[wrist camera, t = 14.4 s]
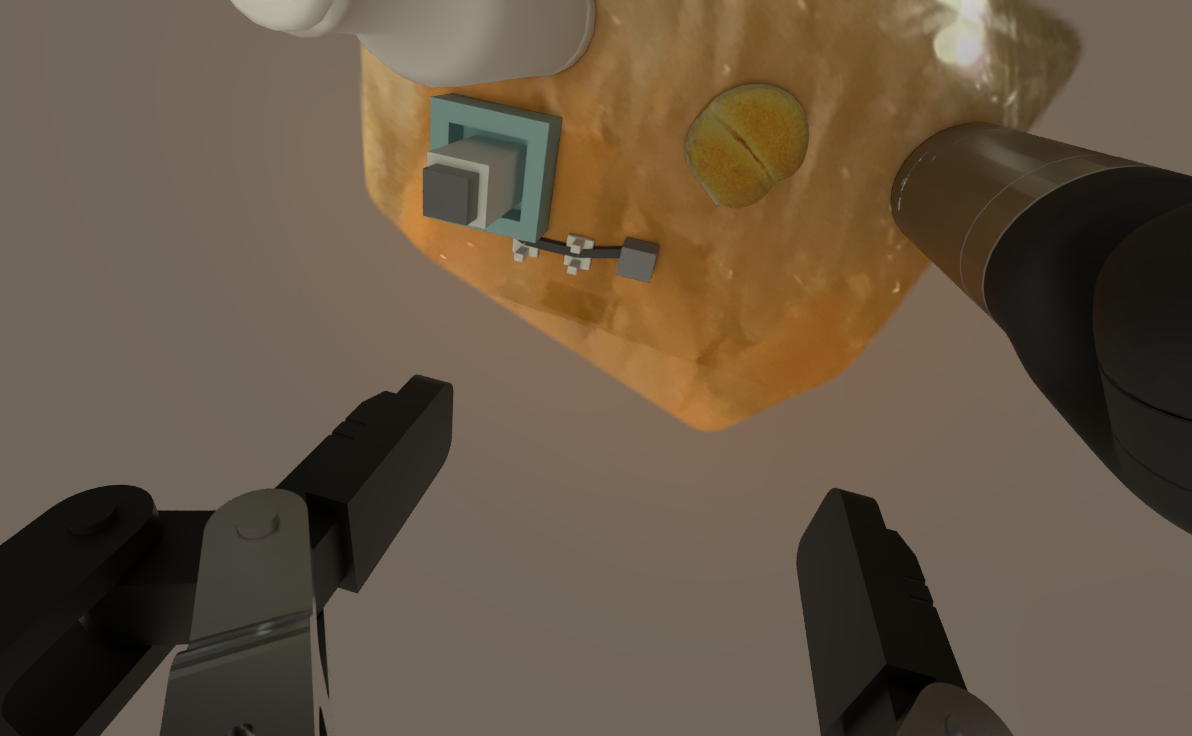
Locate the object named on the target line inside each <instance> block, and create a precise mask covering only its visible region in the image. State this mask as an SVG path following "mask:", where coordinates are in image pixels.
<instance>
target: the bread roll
mask: <svg viewBox="0 0 1192 736" xmlns="http://www.w3.org/2000/svg"><path fill="white" fill-rule="evenodd" d="M808 140H809V131H808V124H807V119H806V115H805V112H804V110H803V108H802V106H801V105H800V104H799V103H798V101H797V100H796V99H795V98H794V97H793V96H792V95H791V94H789V93H788V92H786V91H784V90H782V89H780V88H777V87H774V86H772V85H768V84H755V83H753V84H747V85H741V86H737V87H735V88H732V89H730V90H727V91H725V92H723V93H722V94H720V95H719V96H717V97H716V98H715V99H714V100H713V101H712V102H711V103H710V104H709V105H708V107H707V108H706V109H705V110H704V111H703V112H702V113H701V114H700V115H699V116H698V117H697V119H696V120H695V122H694V123H693V125H692V127H691V129H690V131H689V133H688V136H687V139H686V142H685V154H686V159H687V165H688V167H689V168H690V169H691V171H692V172H693V174H694V176H695V177H696V179H697V181H699V182H700V183H701V185H702V186H703V188H704V189H705V191H706V192H707V193H708V195H709V196H710V198H711V199H712V200H713V202H714V203H715V204H716V205H724V206H727V207H730V208H742V207H745V206H748V205H751V204H754V203H755V202H757V201H759V200H760V199H761V198H763V197H764V196H765V195H766V194H767V193H768V191H769V190H770V188H771V186H772V184H773V183H774V182H775V181H777V180H781V179H785V178H788V177H789V176H791V175H793V174H794V173H795V172H796V171H797V170H798V169H799V168H800V166H801V165H802V163H803V160H804V158H805V155H806V151H807V147H808Z"/></svg>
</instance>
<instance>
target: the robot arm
mask: <svg viewBox="0 0 1192 736" xmlns="http://www.w3.org/2000/svg"><path fill="white" fill-rule="evenodd" d="M891 206H892V214H893V216H894V219H895V222H896V224H897V225H898V227H899V228H900V229H901V231H902V232H903V233H904V234H905V235H906V236H907V237H908V238H909V239H910V240H911V241H912V242H913V243H914V244H915V245H916V246H917V247H918V248H919V249H920V250H921V251H922V252H923V253H924V254H925V255H926V256H927V257H928V258H929V259H930V260H931V261H932V262H933V263H934V264H936V266H938V267H939V268H940V269H941V270H942V271H943V272H944V273H945V274H946V275H947V276H948V277H949V278H950V279H951V280H952V281H953V282H954V283H955V284H956V285H957V286H958V287H959V288H960V289H961V290H962V291H963V292H964V293H965V294H966V295H968V297H969V298H970V299H971V300H973V301H974V302H975V303H976V304H977V305H978V306H979V307H980V308H981V309H982V310H983V311H984V312H985V313H987V315H988V316H989V317H990V318H992V319H993V320H994V321H995V322H996V323H997V324H998V325H999V326H1000V327H1001V328H1002V329H1003V330H1004V331H1005V333H1006V334H1007V336H1008V337H1009V339H1010V341H1011V343H1012V345H1013V347H1014V349H1015V351H1016V353H1017V355H1018V357H1019V359H1020V361H1021V363H1022V364H1023V366H1024V368H1025V370H1026V371H1027V373H1028V374H1029V376H1030V377H1031V379H1032V380H1033V382H1034V383H1035V384H1036V386H1037V387H1038V388H1039V389H1040V391H1041V392H1042V393H1043V394H1044V395H1045V396H1046V398H1047V399H1048V400H1049V401H1050V402H1051V404H1052V405H1053V406H1054V407H1055V408H1056V409H1057V411H1058V412H1059V413H1060V414H1061V415H1062V416H1063V418H1064V419H1065V420H1066V421H1067V422H1068V423H1069V425H1070V426H1071V427H1072V428H1073V429H1074V430H1075V431H1076V433H1077V434H1078V435H1079V436H1080V437H1081V438H1082V439H1083V440H1084V442H1085V443H1086V444H1087V445H1088V446H1089V448H1090V449H1091V450H1092V451H1093V452H1094V453H1095V454H1096V455H1097V457H1098V458H1099V459H1100V460H1101V461H1102V462H1103V463H1104V464H1105V465H1106V467H1107V468H1108V469H1110V471H1111V472H1112V473H1113V474H1114V475H1115V476H1116V477H1117V478H1118V479H1119V480H1120V481H1121V482H1122V483H1123V484H1124V485H1125V486H1126V487H1127V488H1128V489H1129V490H1130V491H1131V492H1132V493H1133V494H1135V495H1136V496H1137V497H1138V498H1139V499H1140V500H1142V501H1143V502H1144V503H1145V504H1146V505H1148V506H1149V507H1150V508H1151V509H1153V510H1154V511H1156V512H1157V513H1158V514H1160V515H1161V516H1163V517H1164V518H1165V519H1167V520H1168V521H1170V522H1171V523H1173V524H1175V525H1176V526H1178V527H1179V528H1181V529H1183V530H1184V531H1186V532H1188V533H1190V534H1191V535H1192V176H1189V175H1185V174H1181V173H1177V172H1173V171H1170V170H1165V169H1161V168H1158V167H1154V166H1151V165H1147V164H1143V163H1139V162H1135V161H1132V160H1128V159H1124V158H1120V157H1115V156H1111V155H1107V154H1104V153H1100V152H1096V151H1092V150H1088V149H1085V148H1081V147H1077V146H1073V145H1069V144H1065V143H1062V142H1058V141H1054V140H1051V139H1047V138H1043V137H1039V136H1035V135H1032V134H1028V133H1025V132H1021V131H1018V130H1014V129H1010V128H1006V127H1002V126H998V125H993V124H989V123H968V124H963V125H958V126H954V127H952V128H949V129H947V130H944V131H942V132H940V133H938V134H936V135H935V136H933V137H931V138H930V139H928V140H927V141H925V142H924V143H923V144H922V145H921V146H919V147H918V148H917V149H916V150H915V151H914V152H913V153H912V154H911V155H910V157H909V158H908V159H907V160H906V161H905V163H904V164H903V166H902V168H901V169H900V171H899V173H898V175H897V177H896V180H895V183H894V186H893V189H892V196H891ZM452 416H453V387H452V384H451V383H448V382H444V381H440V380H436V379H433V378H429V377H425V376H422V375H415V376H413V377H412V378H411V379H410V380H409V381H408V382H407V383H406V384H405V385H404V386H403V387H402V388H401V390H399V392H398V393H397V394H395V393H392V392H388V391H384V392H382V393H380V394H378V395H376V396H374V397H372V398H370V399H368V400H366V401H364V402H362V403H361V404H360V405H359V406H358V407H357V408H356V409H355V410H354V411H353V412H352V413H351V414H350V415H349V416H348V417H347V418H346V420H345V422H342V423H341V424H339V425H338V427H337V428H335V429H334V430H333V432H332V435H328V436H327V437H326V438H325V439H324V440H323V441H322V442H321V443H320V444H319V445H318V446H317V447H316V448H315V449H314V450H313V451H312V452H311V453H310V454H309V455H308V456H307V457H306V458H305V459H304V460H303V461H302V462H301V463H300V464H299V465H298V466H297V467H296V468H295V469H294V470H293V471H292V472H291V473H290V474H289V475H288V476H287V477H286V478H285V479H284V480H283V481H282V482H281V483H280V484H279V485H278V486H277V487H275V488H274V489H260V490H256V491H251V492H248V493H245V494H242V495H240V496H238V497H236V498H233V499H232V500H230V501H228V502H227V503H225V504H224V505H223V506H221V507H220V508H219V509H218V510H214V511H159V510H158V511H157V509H156V506H155V504H154V501H153V499H152V497H151V495H150V494H149V493H148V492H147V491H145V490H143V489H141V488H139V487H136V486H130V485H110V486H104V487H98V488H94V489H90V490H87V491H84V492H81V493H78V494H76V495H74V496H71V497H69V498H67V499H65V500H63V501H62V502H60V503H58V504H56V505H55V506H53V507H52V508H50V509H49V510H47V511H46V512H45V513H43V514H42V515H41V516H39V517H38V518H37V519H35V520H34V521H33V522H31V523H30V524H29V525H27V526H26V527H25V528H23V529H22V530H20V531H19V532H18V533H17V534H15V535H14V536H12V537H11V538H10V539H8V540H7V541H6V542H4V543H3V544H2V545H0V736H100V735H101V733H102V732H103V731H104V730H105V729H106V728H107V726H108V725H109V724H110V723H111V721H112V720H113V719H114V718H115V717H116V716H117V715H118V713H119V712H120V711H121V710H122V709H123V707H124V706H125V705H126V704H127V703H128V701H129V700H130V699H131V698H132V697H133V695H134V694H135V693H136V692H137V691H138V689H139V688H140V687H141V685H143V684H144V682H145V681H146V680H147V679H148V678H149V676H150V675H151V674H152V673H153V672H154V670H155V669H156V668H157V667H158V666H159V664H160V663H161V662H162V661H163V660H164V658H165V657H166V656H167V655H168V654H169V652H170V651H171V650H172V649H173V647H175V645H179V644H189V645H188V648H187V650H185V651H182V652H179V653H177V654H176V656H175V658H174V660H173V662H172V665H171V668H170V673H169V678H168V684H167V690H166V698H165V704H164V710H163V717H162V723H161V730H160V736H335V728H334V720H333V710H332V698H331V683H330V670H329V655H328V641H327V628H326V613H325V605H326V603H327V602H328V600H329V599H330V598H331V596H332V595H333V593H334V592H335V591H336V589H337V588H342V589H345V590H348V591H351V592H355V593H358V592H359V590H360V589H361V588H362V586H363V585H364V583H365V582H366V580H367V579H368V577H369V576H370V574H371V573H372V571H373V570H374V568H375V567H376V565H377V564H378V562H379V561H380V559H381V558H382V556H383V555H384V553H385V552H386V550H387V549H388V547H389V546H390V544H391V543H392V541H393V540H394V538H395V537H396V535H397V534H398V532H399V531H400V529H401V528H402V526H403V525H404V523H405V522H406V520H407V518H408V517H409V516H410V514H411V513H412V511H413V510H414V508H415V507H416V505H417V504H418V502H419V501H420V499H421V498H422V496H423V495H424V493H425V492H426V490H427V489H428V487H429V486H430V484H431V483H432V481H433V479H434V478H435V477H436V475H437V474H438V472H439V471H440V469H441V468H442V466H443V464H444V462H445V460H446V458H447V456H448V452H449V449H450V446H451V440H452ZM796 564H797V574H798V580H799V587H800V594H801V601H802V607H803V615H804V622H805V629H806V636H807V642H808V650H809V656H810V663H811V670H812V677H813V684H814V691H815V698H816V705H817V712H818V719H819V725H820V732H821V736H1013V734H1012V733H1011V731H1010V730H1009V728H1008V727H1007V726H1006V725H1005V723H1004V722H1003V721H1002V720H1001V718H1000V717H999V716H998V715H997V714H996V713H995V712H994V711H993V710H992V709H991V708H990V707H989V706H988V705H986V704H985V703H984V702H983V701H981V700H980V699H979V698H977V697H976V696H975V695H973V694H971V693H970V692H968V690H967V688H966V686H965V683H964V680H963V678H962V675H961V672H960V670H959V667H958V665H957V662H956V659H955V657H954V654H953V652H952V649H951V646H950V644H949V641H948V639H947V636H946V633H945V631H944V628H943V626H942V623H941V620H940V618H939V615H938V612H937V610H936V608H935V607H933V599H932V597H931V594H930V592H929V589H928V587H927V586H925V578H924V576H923V573H922V571H921V568H920V565H919V563H918V560H917V557H916V555H915V554H914V553H913V552H912V550H911V549H910V548H909V546H908V545H907V544H906V543H905V542H904V540H903V539H902V538H901V536H900V535H899V534H898V532H897V531H893V530H890V529H886V526H885V524H884V521H883V518H882V515H881V512H880V509H879V506H878V504H877V502H876V500H875V499H873V498H871V497H867V496H864V495H860V494H856V493H853V492H849V491H845V490H841V489H837V488H833V489H831V490H830V491H829V492H828V493H827V495H826V497H825V498H824V500H823V501H822V503H821V505H820V507H819V508H818V510H817V512H816V514H815V515H814V517H813V519H812V520H811V522H810V524H809V526H808V527H807V529H806V531H805V533H804V534H803V536H802V538H801V540H800V543H799V547H798V552H797V563H796Z"/></svg>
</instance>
